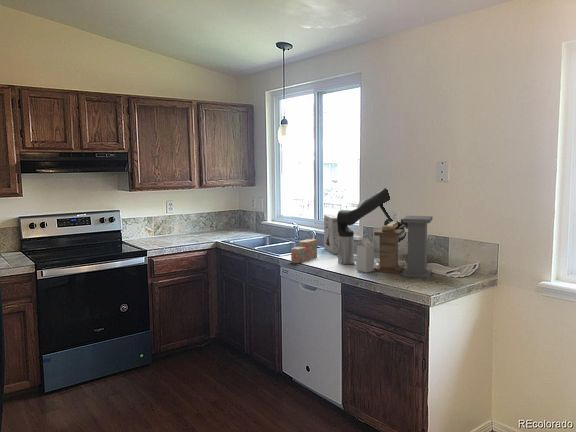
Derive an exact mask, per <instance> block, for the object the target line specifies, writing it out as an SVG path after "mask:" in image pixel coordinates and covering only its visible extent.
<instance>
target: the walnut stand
mask: <svg viewBox="0 0 576 432" xmlns="http://www.w3.org/2000/svg"><path fill="white" fill-rule="evenodd" d="M373 233H374V234H373V235H374V237H376V236H377V237H379V264H378V265H376V267H374V271H373V272H378V273H390V274H400V272H401V271H402V270H403V269H404V264H399V245H398V237H399V236H400V235H401V234H403V229H394V232H382V228H378V229H376V230H375V231H374V232H373ZM402 268H403V269H402Z"/></svg>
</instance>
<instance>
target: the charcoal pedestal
mask: <svg viewBox="0 0 576 432" xmlns="http://www.w3.org/2000/svg"><path fill="white" fill-rule="evenodd" d="M402 220H403V222H404V223H408V229H407V232H408V242H407V267H406V268H405V269H404V270H403V272H402V274H401V275H402V277H407V278H417V279H418V278H420V279H430V276H431V275H432V273H433V271H432V268H431V269H430V268H427V261H428V260H427V259H428V257H427V256H428V224H430V223H431V222H433V215H406V216H404V217H403V218H402Z"/></svg>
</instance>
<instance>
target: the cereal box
mask: <svg viewBox="0 0 576 432" xmlns="http://www.w3.org/2000/svg"><path fill="white" fill-rule="evenodd" d="M337 215H338V214H334V213H329V214H328V213H327V214H323V227H324V228H323V232H324V233H323V234H324V235H323V236H324V237H323V239H324V241H323V242H324V246H323V247H324V249H325V251H328V252H329V253H331V254H332V255H338V247H339V233H338V228H337Z"/></svg>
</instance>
